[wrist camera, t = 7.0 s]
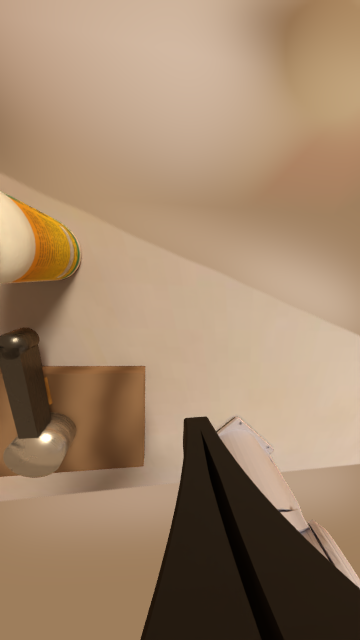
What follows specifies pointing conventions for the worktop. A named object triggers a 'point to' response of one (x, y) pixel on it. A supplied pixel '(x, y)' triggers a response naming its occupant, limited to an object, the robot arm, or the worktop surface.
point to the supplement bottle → (34, 245)
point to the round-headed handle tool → (31, 409)
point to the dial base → (91, 415)
